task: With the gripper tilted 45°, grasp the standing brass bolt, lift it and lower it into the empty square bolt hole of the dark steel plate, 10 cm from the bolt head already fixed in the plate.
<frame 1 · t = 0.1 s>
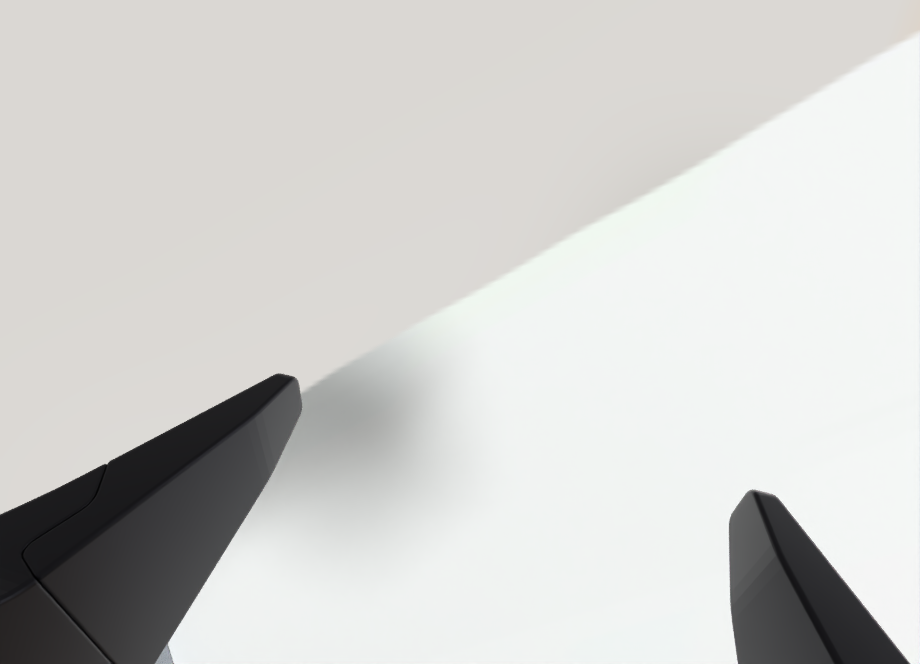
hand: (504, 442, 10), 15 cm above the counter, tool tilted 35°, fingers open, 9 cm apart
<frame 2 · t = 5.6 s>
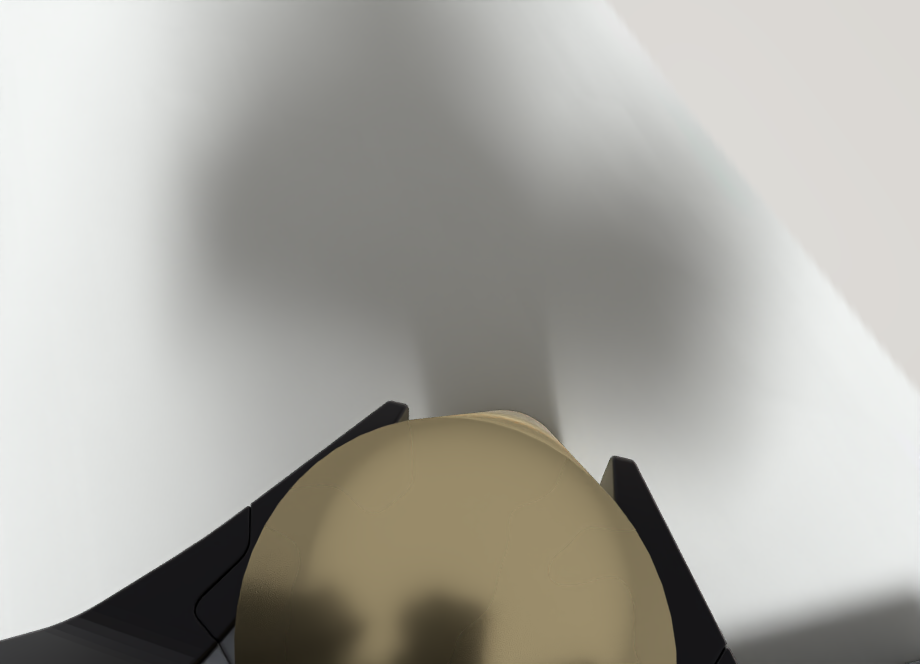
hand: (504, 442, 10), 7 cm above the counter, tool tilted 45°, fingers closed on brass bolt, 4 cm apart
brass bolt: (503, 472, 16), on the counter, touching gripper
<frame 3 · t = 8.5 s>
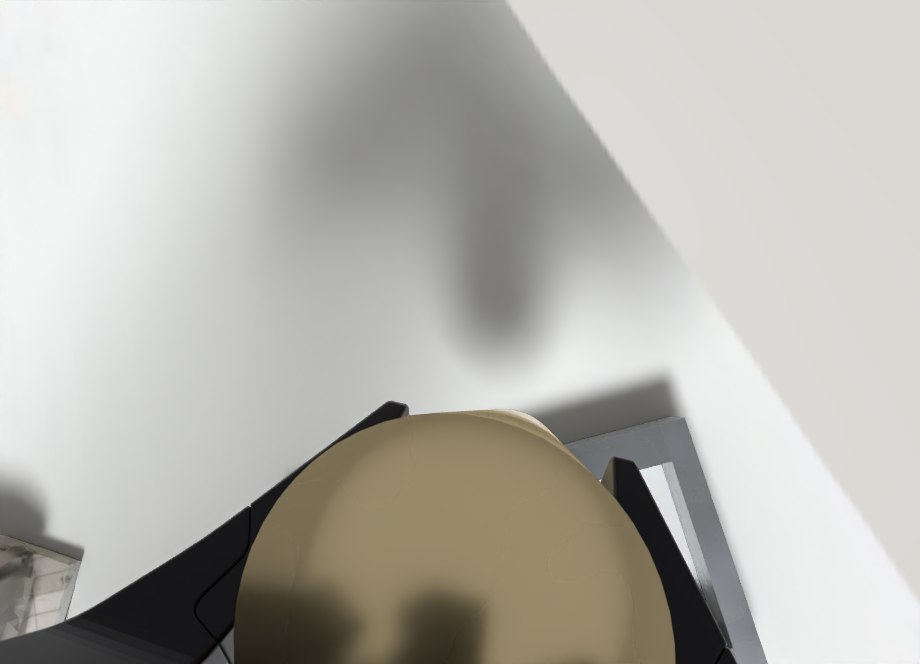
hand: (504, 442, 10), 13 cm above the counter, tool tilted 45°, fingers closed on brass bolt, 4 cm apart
brass bolt: (503, 471, 16), point 7 cm above the counter, touching gripper
flange plate: (503, 581, 22), on the counter
when the fingers open (8 cm above the counter, at t = 11.1 s): brass bolt drops 1 cm, resting in flange plate.
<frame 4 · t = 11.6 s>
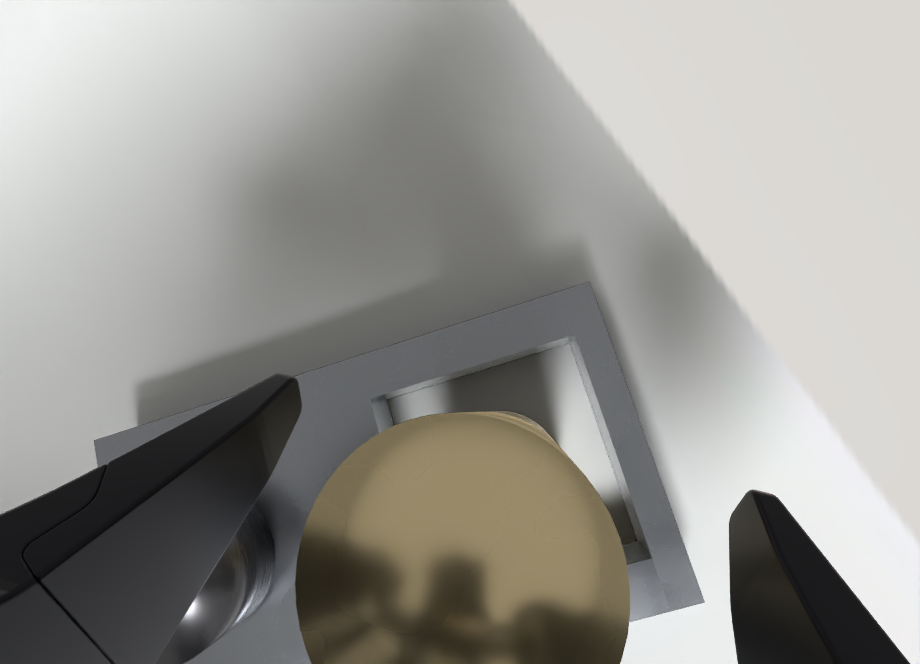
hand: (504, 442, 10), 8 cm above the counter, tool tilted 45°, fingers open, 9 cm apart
brass bolt: (503, 468, 18), resting in flange plate
flange plate: (385, 501, 18), on the counter
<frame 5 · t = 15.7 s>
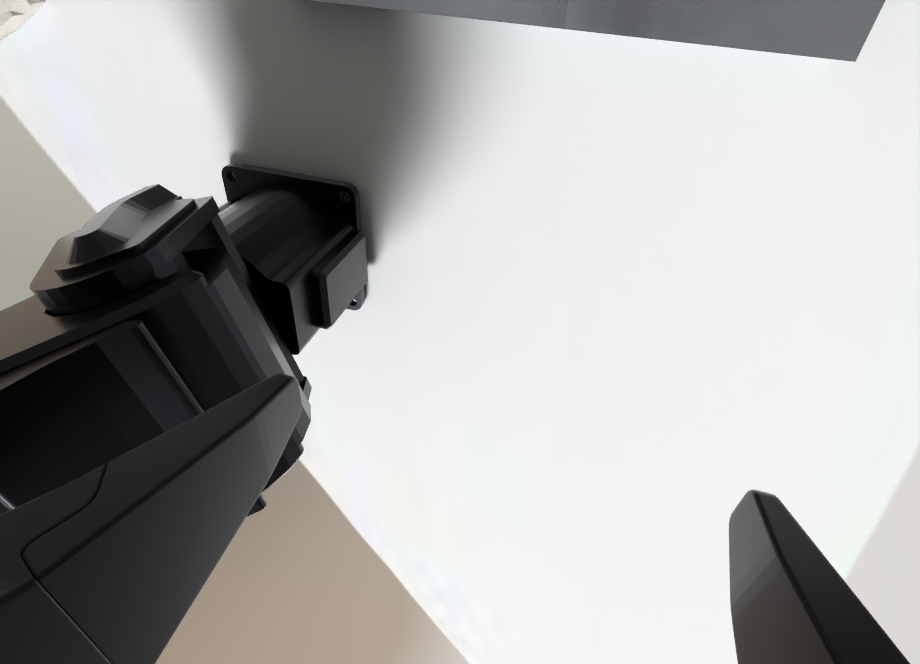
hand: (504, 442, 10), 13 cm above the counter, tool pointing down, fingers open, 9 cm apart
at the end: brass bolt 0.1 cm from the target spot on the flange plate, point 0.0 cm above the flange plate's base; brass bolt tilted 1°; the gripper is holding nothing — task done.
